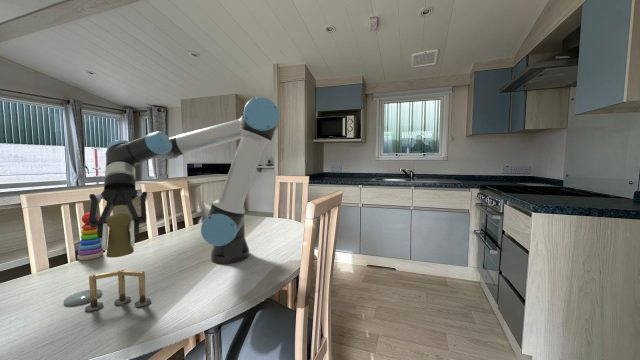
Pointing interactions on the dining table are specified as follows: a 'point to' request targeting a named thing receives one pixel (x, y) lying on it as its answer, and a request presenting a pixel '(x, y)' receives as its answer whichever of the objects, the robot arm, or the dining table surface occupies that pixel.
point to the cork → (119, 236)
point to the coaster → (80, 298)
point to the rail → (121, 282)
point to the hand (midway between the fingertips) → (118, 245)
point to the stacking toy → (89, 241)
